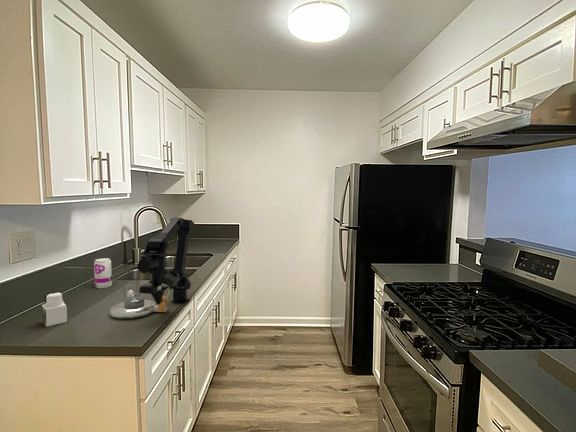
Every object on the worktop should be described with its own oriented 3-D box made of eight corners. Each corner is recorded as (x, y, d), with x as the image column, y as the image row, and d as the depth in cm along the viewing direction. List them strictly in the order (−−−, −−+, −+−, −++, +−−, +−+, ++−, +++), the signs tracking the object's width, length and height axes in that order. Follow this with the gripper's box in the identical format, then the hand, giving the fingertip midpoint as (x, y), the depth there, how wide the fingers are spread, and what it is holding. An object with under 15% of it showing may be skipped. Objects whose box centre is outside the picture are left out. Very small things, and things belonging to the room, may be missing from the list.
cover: (120, 307, 149) (119, 299, 149) (135, 302, 157) (134, 294, 156) (133, 310, 146) (133, 301, 146) (148, 304, 153) (148, 296, 153)
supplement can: (104, 289, 186) (103, 261, 185) (91, 288, 188) (90, 260, 187) (115, 285, 194) (114, 258, 193) (102, 284, 196) (101, 257, 195)
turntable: (102, 318, 142) (101, 304, 142) (122, 304, 160) (121, 291, 160) (158, 318, 143) (158, 304, 142) (172, 303, 160) (172, 291, 160)
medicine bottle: (42, 322, 140) (40, 292, 139) (63, 317, 145) (61, 289, 144) (46, 327, 135) (44, 296, 134) (67, 322, 140) (66, 292, 139)
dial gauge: (132, 301, 166) (132, 287, 166) (139, 302, 165) (138, 288, 164) (126, 303, 163) (126, 289, 162) (133, 304, 161) (132, 290, 161)
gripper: (163, 274, 136) (163, 313, 137) (186, 264, 155) (186, 299, 156) (137, 272, 139) (138, 311, 140) (163, 263, 157) (164, 297, 158)
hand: (158, 304), depth 148 cm, fingers closed
